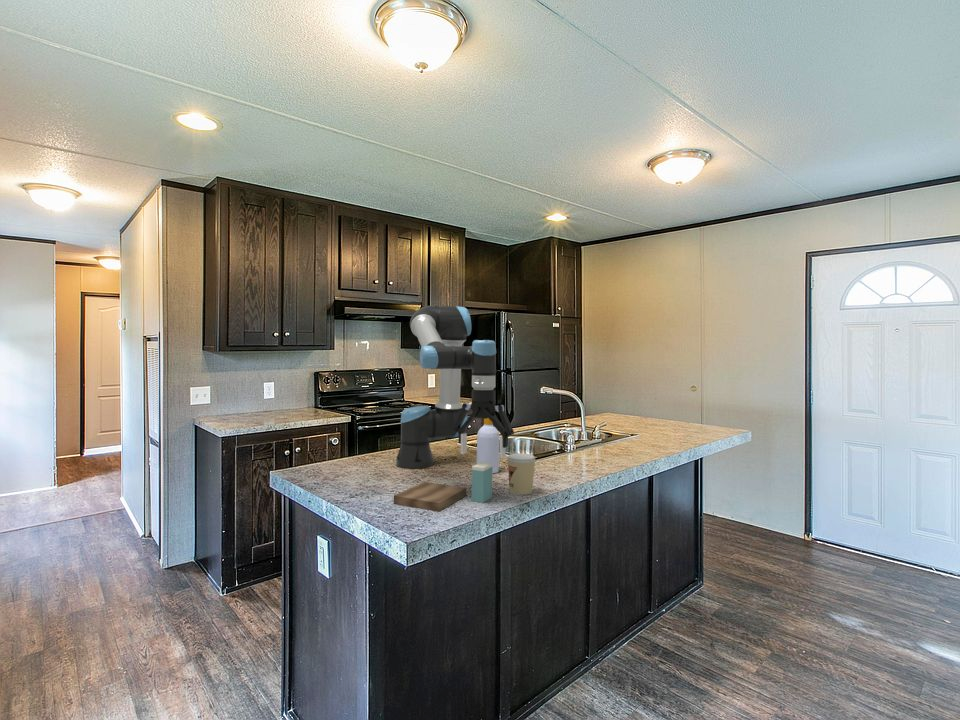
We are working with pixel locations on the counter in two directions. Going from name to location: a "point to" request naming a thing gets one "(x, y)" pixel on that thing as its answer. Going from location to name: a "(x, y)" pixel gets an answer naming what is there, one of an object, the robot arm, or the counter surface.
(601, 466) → the counter surface
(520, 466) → the white-capped cylinder
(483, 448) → the soap bottle
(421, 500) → the board
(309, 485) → the counter surface
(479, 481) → the block
